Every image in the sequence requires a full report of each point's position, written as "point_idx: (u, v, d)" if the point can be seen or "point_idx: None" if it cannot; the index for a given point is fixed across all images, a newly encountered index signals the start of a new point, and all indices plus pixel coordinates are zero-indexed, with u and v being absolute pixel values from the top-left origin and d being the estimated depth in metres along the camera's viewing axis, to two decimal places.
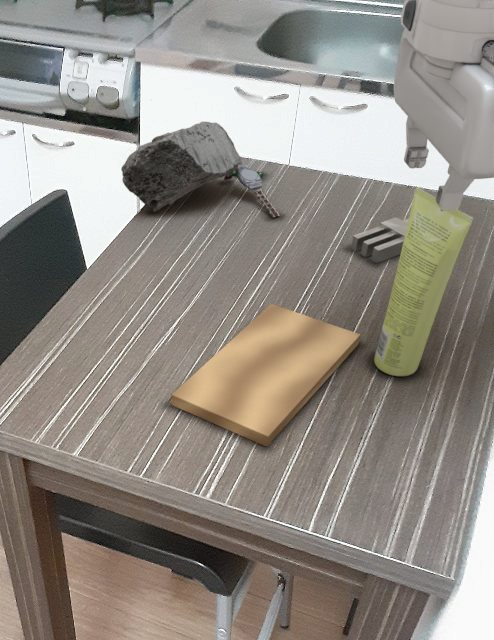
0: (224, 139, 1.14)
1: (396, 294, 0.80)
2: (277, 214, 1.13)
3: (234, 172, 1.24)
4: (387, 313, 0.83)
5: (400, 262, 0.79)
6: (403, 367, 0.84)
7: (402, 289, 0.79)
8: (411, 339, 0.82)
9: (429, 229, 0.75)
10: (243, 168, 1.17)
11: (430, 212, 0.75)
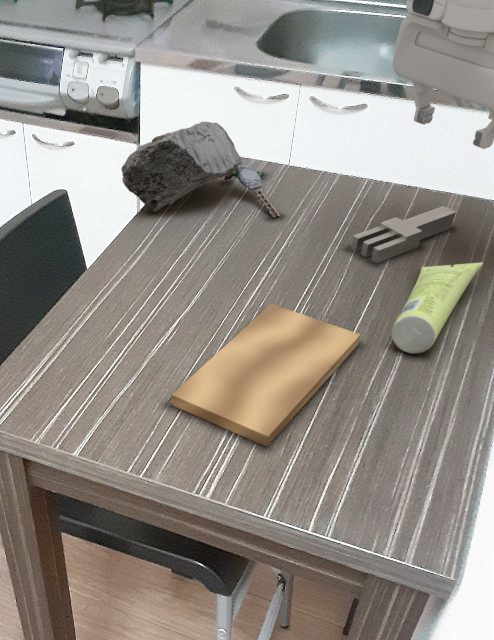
0: (224, 139, 1.14)
1: (424, 284, 0.92)
2: (277, 214, 1.13)
3: (234, 172, 1.24)
4: (413, 295, 0.91)
5: (421, 279, 0.95)
6: (434, 319, 0.86)
7: (431, 280, 0.92)
8: (442, 303, 0.88)
9: None
10: (243, 168, 1.17)
11: None
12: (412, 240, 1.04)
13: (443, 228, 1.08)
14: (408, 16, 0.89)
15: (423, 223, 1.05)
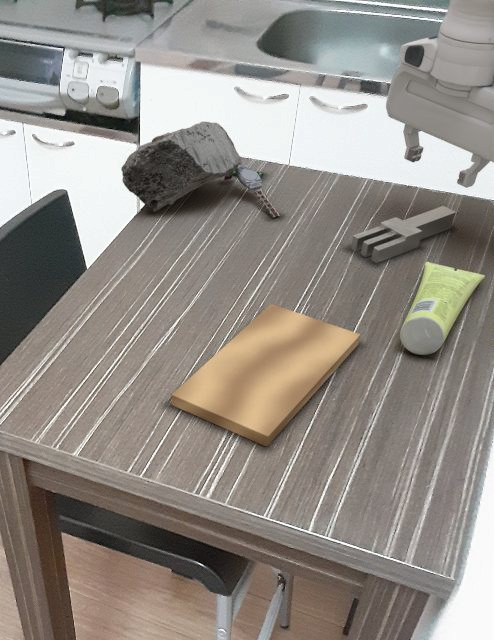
0: (224, 139, 1.14)
1: (436, 284, 0.91)
2: (277, 214, 1.13)
3: (234, 172, 1.24)
4: (425, 294, 0.90)
5: (431, 277, 0.94)
6: (446, 326, 0.86)
7: (442, 282, 0.92)
8: (453, 311, 0.88)
9: (452, 271, 0.97)
10: (243, 168, 1.17)
11: (446, 269, 0.98)
12: (412, 240, 1.04)
13: (443, 228, 1.08)
14: (400, 66, 0.98)
15: (423, 223, 1.05)
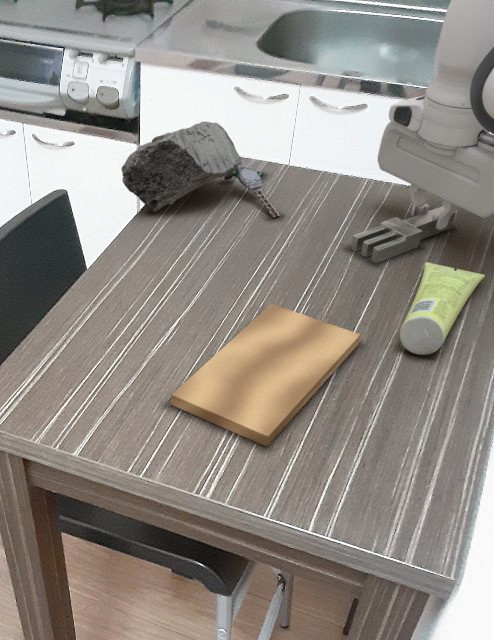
0: (224, 139, 1.14)
1: (436, 284, 0.91)
2: (277, 214, 1.13)
3: (234, 172, 1.24)
4: (425, 294, 0.90)
5: (430, 277, 0.94)
6: (446, 326, 0.86)
7: (442, 282, 0.92)
8: (452, 310, 0.88)
9: (452, 271, 0.97)
10: (243, 168, 1.17)
11: (446, 269, 0.98)
12: (412, 240, 1.04)
13: None
14: (390, 124, 1.03)
15: (423, 223, 1.05)
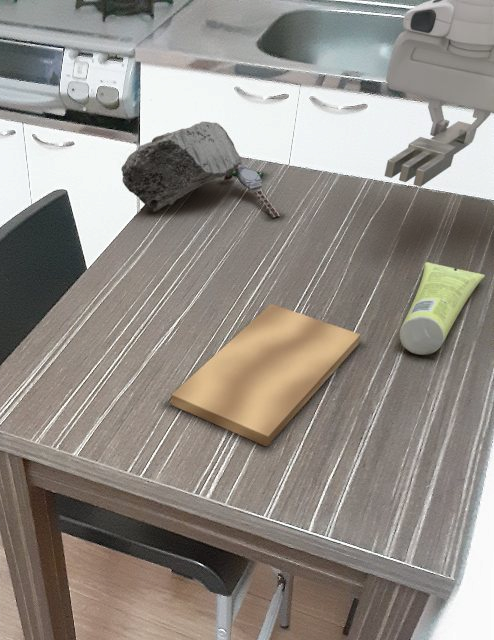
0: (224, 139, 1.14)
1: (436, 284, 0.91)
2: (277, 214, 1.13)
3: (234, 172, 1.24)
4: (425, 294, 0.90)
5: (430, 277, 0.94)
6: (446, 326, 0.86)
7: (442, 282, 0.92)
8: (452, 310, 0.88)
9: (452, 271, 0.97)
10: (243, 168, 1.17)
11: (446, 269, 0.98)
12: (448, 158, 0.95)
13: (464, 144, 1.01)
14: (404, 34, 0.94)
15: (451, 139, 0.97)
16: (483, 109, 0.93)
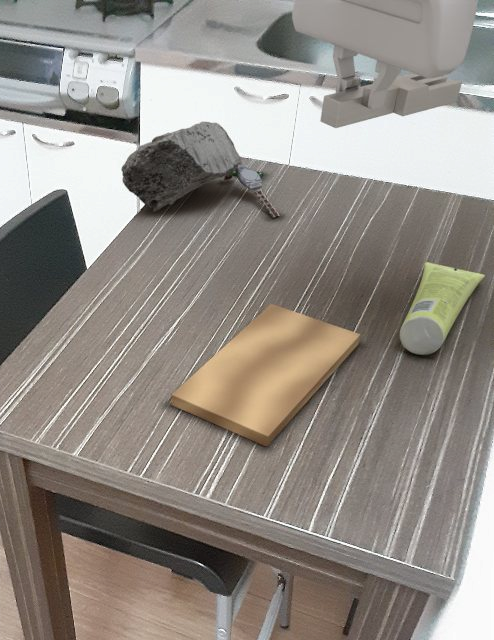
0: (224, 139, 1.14)
1: (436, 284, 0.91)
2: (277, 214, 1.13)
3: (234, 172, 1.24)
4: (425, 294, 0.90)
5: (430, 277, 0.94)
6: (446, 326, 0.86)
7: (442, 282, 0.92)
8: (452, 310, 0.88)
9: (452, 271, 0.97)
10: (243, 168, 1.17)
11: (446, 269, 0.98)
12: None
13: None
14: None
15: (371, 84, 0.78)
16: None
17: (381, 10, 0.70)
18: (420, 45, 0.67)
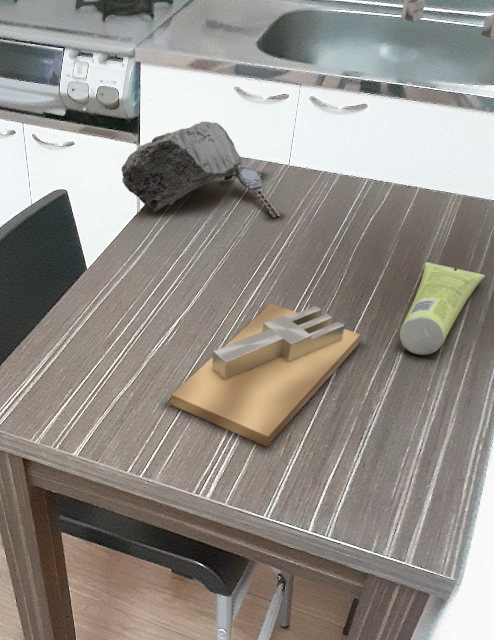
0: (224, 139, 1.14)
1: (436, 284, 0.91)
2: (277, 214, 1.13)
3: (234, 173, 1.24)
4: (425, 294, 0.90)
5: (430, 277, 0.94)
6: (446, 326, 0.86)
7: (442, 282, 0.92)
8: (452, 310, 0.88)
9: (452, 271, 0.97)
10: (243, 168, 1.17)
11: (446, 269, 0.98)
12: None
13: None
14: None
15: (259, 334, 0.85)
16: None
17: None
18: None
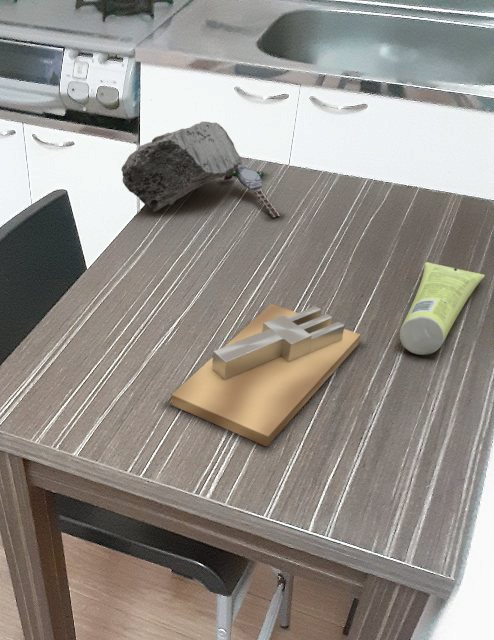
0: (224, 139, 1.14)
1: (436, 284, 0.91)
2: (277, 214, 1.13)
3: (234, 172, 1.24)
4: (425, 294, 0.90)
5: (430, 277, 0.94)
6: (446, 326, 0.86)
7: (442, 282, 0.92)
8: (452, 310, 0.88)
9: (452, 271, 0.97)
10: (243, 168, 1.17)
11: (446, 269, 0.98)
12: None
13: None
14: None
15: (259, 334, 0.85)
16: None
17: None
18: None
